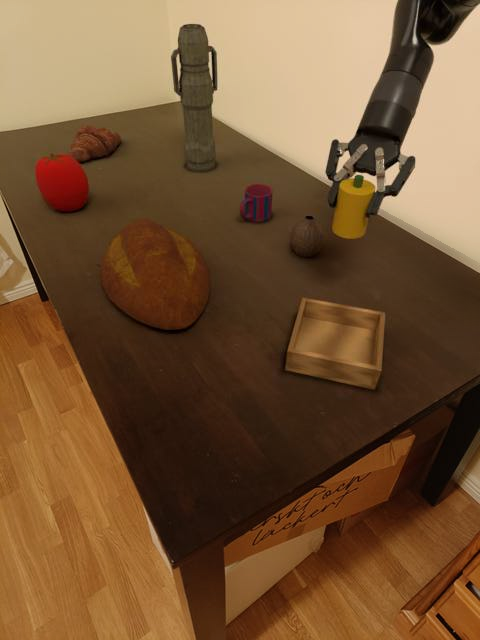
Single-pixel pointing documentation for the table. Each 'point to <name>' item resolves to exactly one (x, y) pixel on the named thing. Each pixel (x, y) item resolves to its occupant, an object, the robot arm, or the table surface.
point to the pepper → (352, 207)
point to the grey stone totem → (196, 94)
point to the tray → (337, 343)
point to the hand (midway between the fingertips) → (349, 211)
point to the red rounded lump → (62, 182)
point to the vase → (307, 236)
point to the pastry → (93, 143)
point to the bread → (155, 275)
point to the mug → (257, 203)
